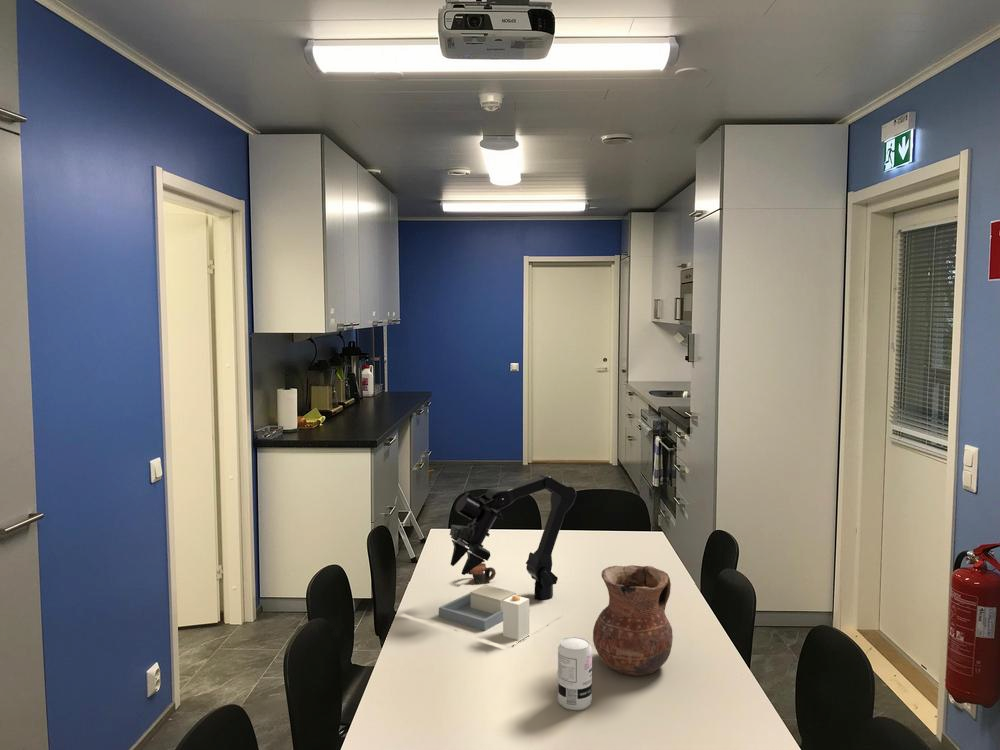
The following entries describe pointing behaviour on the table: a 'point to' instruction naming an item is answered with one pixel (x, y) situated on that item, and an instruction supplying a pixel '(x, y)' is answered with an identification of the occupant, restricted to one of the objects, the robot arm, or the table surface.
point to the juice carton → (516, 617)
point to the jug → (634, 620)
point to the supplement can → (574, 673)
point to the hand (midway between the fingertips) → (457, 569)
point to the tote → (469, 614)
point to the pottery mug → (481, 574)
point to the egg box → (489, 598)
